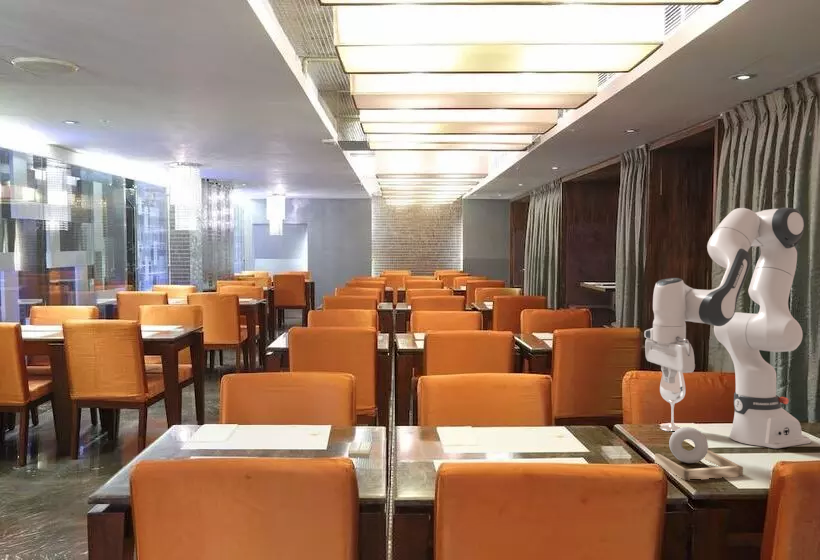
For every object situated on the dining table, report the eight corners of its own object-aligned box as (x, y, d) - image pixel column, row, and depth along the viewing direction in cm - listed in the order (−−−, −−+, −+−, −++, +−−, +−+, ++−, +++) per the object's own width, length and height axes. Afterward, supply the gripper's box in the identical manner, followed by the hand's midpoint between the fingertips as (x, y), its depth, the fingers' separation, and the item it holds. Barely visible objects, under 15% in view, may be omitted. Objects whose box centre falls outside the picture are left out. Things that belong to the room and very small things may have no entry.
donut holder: (708, 458, 183) (708, 450, 183) (742, 476, 169) (742, 466, 169) (654, 462, 181) (654, 453, 181) (684, 480, 166) (684, 471, 166)
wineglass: (672, 433, 209) (672, 371, 208) (654, 427, 216) (654, 367, 215) (690, 430, 212) (691, 369, 211) (672, 424, 219) (672, 365, 218)
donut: (708, 463, 180) (708, 427, 179) (708, 467, 177) (708, 430, 176) (669, 458, 184) (669, 423, 183) (668, 462, 181) (668, 426, 180)
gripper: (700, 339, 177) (700, 389, 178) (660, 330, 197) (660, 375, 198) (679, 340, 176) (679, 390, 177) (641, 331, 196) (641, 376, 197)
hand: (669, 382), depth 188 cm, fingers closed
